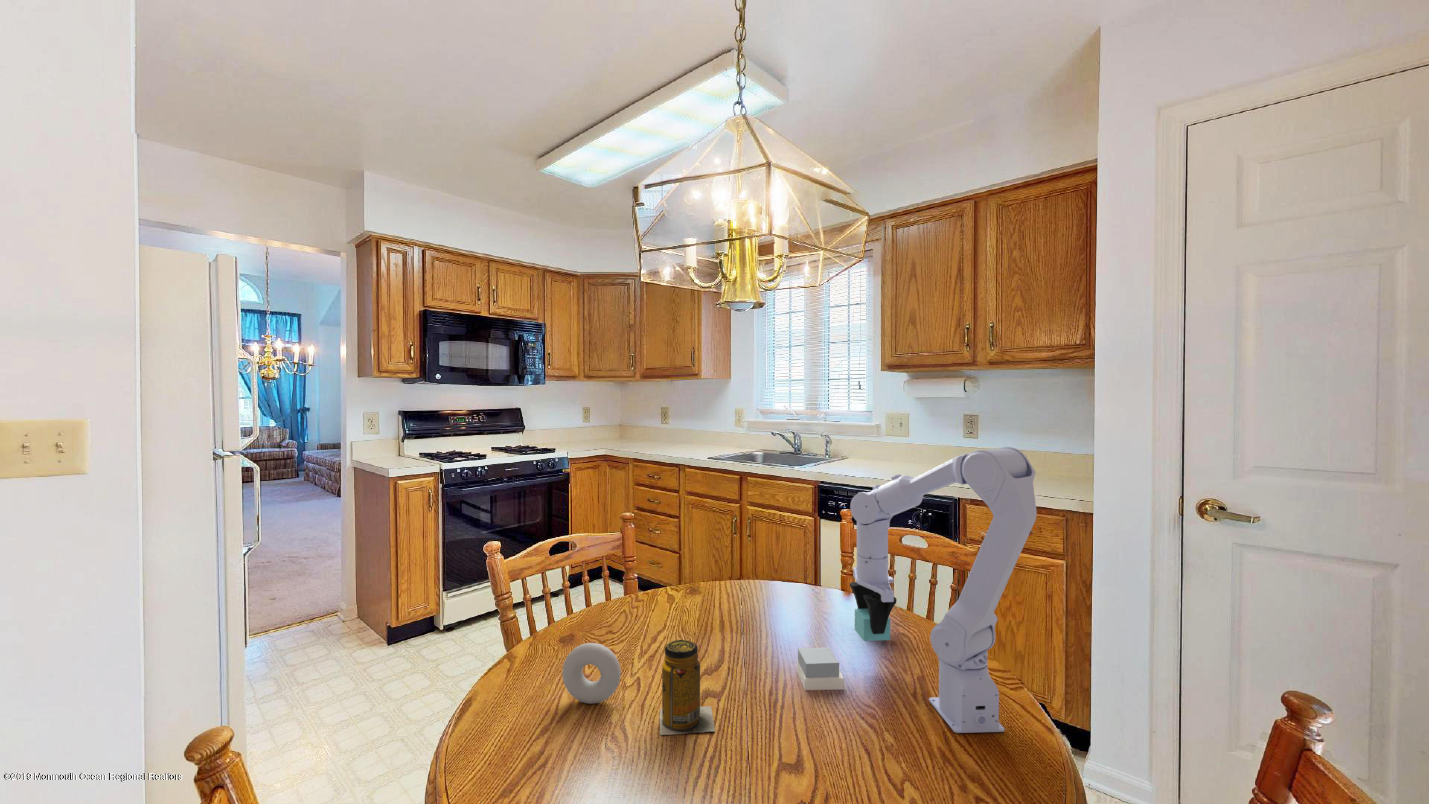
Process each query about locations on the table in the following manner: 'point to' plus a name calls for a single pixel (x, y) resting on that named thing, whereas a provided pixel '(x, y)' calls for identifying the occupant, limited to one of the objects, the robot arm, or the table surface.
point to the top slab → (818, 662)
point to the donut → (582, 686)
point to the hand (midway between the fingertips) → (872, 626)
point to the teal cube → (868, 627)
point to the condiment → (682, 692)
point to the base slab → (820, 681)
